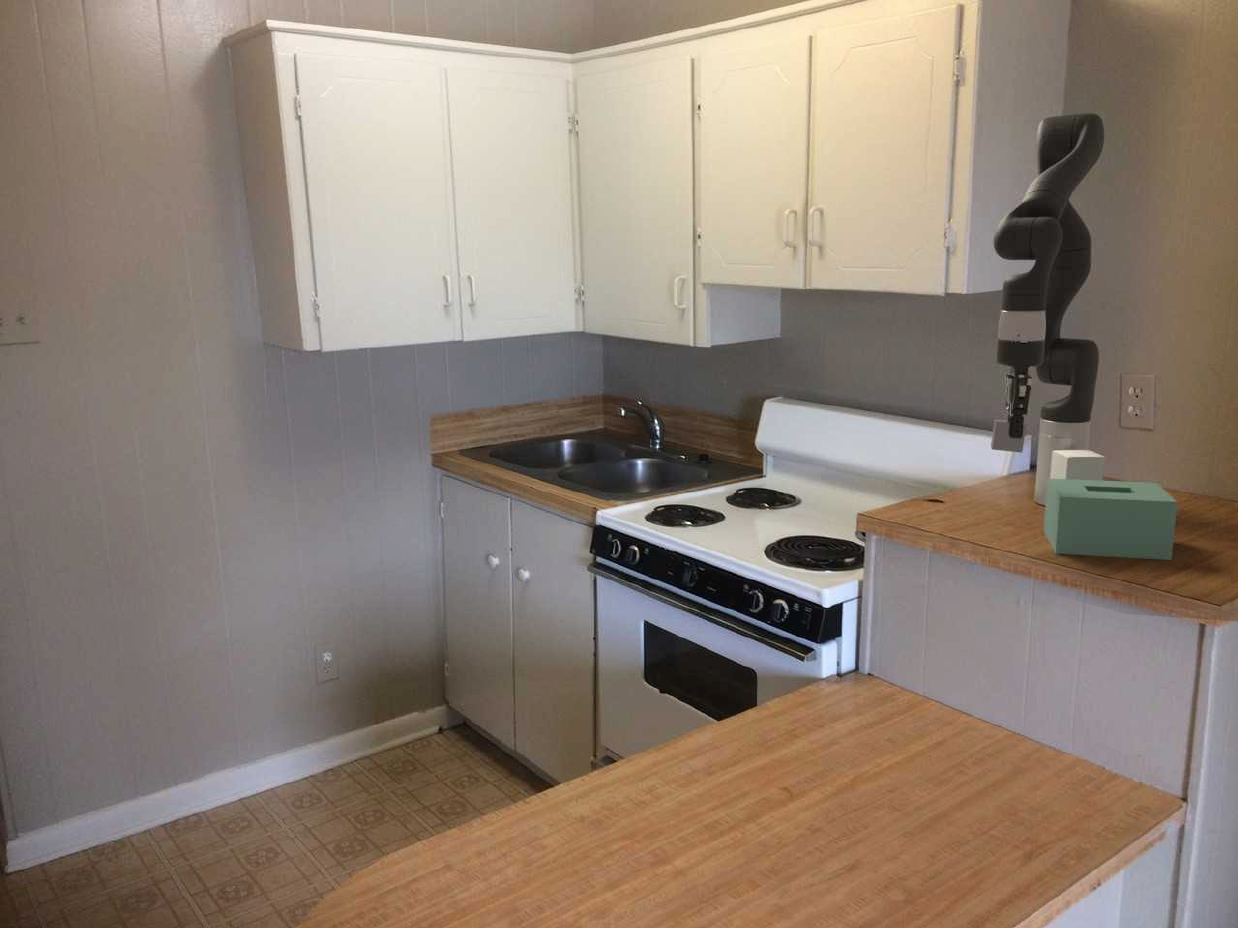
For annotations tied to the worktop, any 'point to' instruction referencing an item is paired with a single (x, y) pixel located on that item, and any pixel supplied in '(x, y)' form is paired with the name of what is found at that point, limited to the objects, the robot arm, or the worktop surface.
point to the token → (1006, 437)
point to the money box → (1110, 518)
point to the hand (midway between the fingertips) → (1014, 435)
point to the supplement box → (1077, 465)
